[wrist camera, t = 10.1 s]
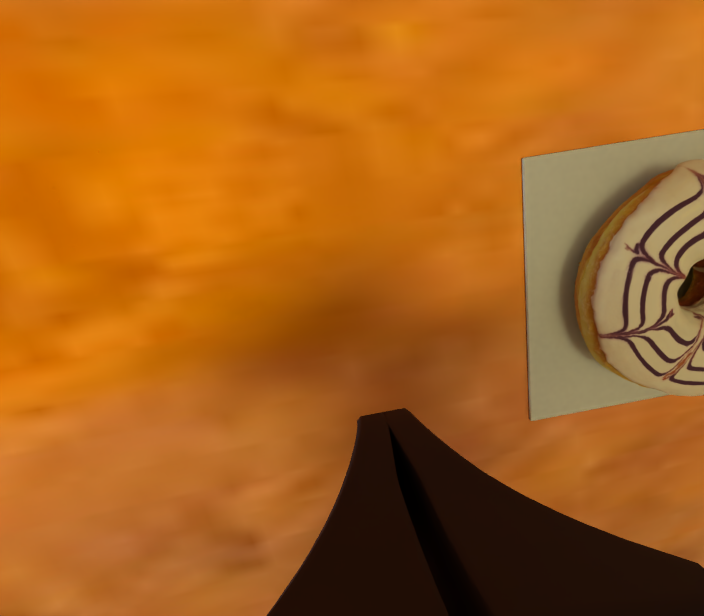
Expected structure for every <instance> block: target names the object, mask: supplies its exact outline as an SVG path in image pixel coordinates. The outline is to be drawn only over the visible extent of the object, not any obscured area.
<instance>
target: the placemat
mask: <svg viewBox="0 0 704 616" xmlns="http://www.w3.org/2000/svg"><path fill="white" fill-rule="evenodd" d="M697 159H703V160H704V129H702V130H696V131H689V132H683V133H677V134H671V135H664V136H658V137H652V138H646V139H639V140H633V141H627V142H620V143H614V144H608V145H602V146H595V147H589V148H583V149H576V150H570V151H564V152H558V153H551V154H545V155H539V156H533V157H526V158H522V180H523V215H524V249H525V284H526V318H527V353H528V387H529V419H530V420H531V421H534V420H540V419H545V418H550V417H555V416H561V415H566V414H571V413H576V412H582V411H587V410H592V409H597V408H602V407H608V406H613V405H618V404H623V403H629V402H634V401H639V400H644V399H650V398H655V397H660V396H665V395H671V394H667V393H665V392H662V391H659V390H656V389H653V388H646V387H642V386H639V385H638V384H636V383H633V382H630V381H628V380H625V379H623V378H622V377H620V376H618V375H617V374H615V373H613V372H611V371H609V370H607V369H606V368H604V367H603V366H602V365H600V364H599V363H598V362H597V361H596V360H595V359H594V357H593V356H592V355H591V353H590V351H589V350H588V347H587V345H586V343H585V341H584V338H583V336H582V334H581V332H580V329H579V325H578V322H577V317H576V309H575V305H574V304H575V302H574V301H575V299H574V293H575V292H574V291H575V281H576V277H577V273H578V266H579V265H580V264H579V262H581V260H582V257H583V254H584V252H585V249H586V247H587V245H588V244H589V242H590V240H591V239H592V238H593V236H595V234H596V233H597V232H598V230H599V229H600V227H601V226H602V225H603V224H604V223H605V221H606V220H607V219H608V218H609V217H610V216H611V215H612V213H613V212H614V211H615V210H616V209H617V208H618V207H619V206H620V205H622V204H623V202H625V201H626V200H627V199H628V198H630V197H631V196H632V195H633V194H634V193H636V192H637V191H638V190H639V189H640V188H642V187H643V186H644V185H645V184H647V183H648V182H649V181H650V180H651V179H652V178H654V177H655V176H657V175H658V174H661V173H664V172H666V171H669V170H672V169H675V167H676V166H677V165H678V164H679V163H682V162H685V161H689V160H697ZM693 272H694V270H693V267H691V268H690V270H689V272H688V275H687V277H686V279H685V280H684V282H683V283H682V285H681V286H680V287H679V289H678V292H677V296H678V300H679V299H680V298H681V297H682V296H683V295H684V294H685V293H686V292H687V290H688V289H689V287H690V284H691V283H692V278H693Z"/></svg>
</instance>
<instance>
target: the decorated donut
mask: <svg viewBox="0 0 704 616" xmlns="http://www.w3.org/2000/svg"><path fill="white" fill-rule="evenodd" d="M579 264H580V265H579V266H578V273H577V277H576V281H575V291H574V292H575V293H574V299H575V301H574V302H575V304H574V305H575V309H576V317H577V322H578V325H579V329H580V332H581V334H582V336H583V338H584V341H585V343H586V345H587V347H588V350H589V351H590V353H591V355H592V356H593V357H594V359H595V360H596V361H597V362H598V363H599V364H600V365H602V366H603V367H604V368H606V369H607V370H609V371H611V372H613V373H615V374H617V375H618V376H620V377H622V378H623V379H625V380H628V381H630V382H633V383H636V384H638V385H639V386H642V387H646V388H653V389H656V390H659V391H662V392H665V393H667V394H671V395H677V396H702V395H704V160H703V159H697V160H689V161H685V162H682V163H679V164H678V165H677V166H676V167H675V169H672V170H669V171H666V172H664V173H661V174H658V175H657V176H655V177H654V178H652V179H651V180H650V181H649V182H648V183H647V184H645V185H644V186H643V187H642V188H640V189H639V190H638V191H637V192H636V193H634V194H633V195H632V196H631V197H630V198H628V199H627V200H626V201H625V202H623V204H622V205H620V206H619V207H618V208H617V209H616V210H615V211H614V212H613V213H612V215H611V216H610V217H609V218H608V219H607V220H606V221H605V223H604V224H603V225H602V226H601V227H600V229H599V230H598V232H597V233H596V234H595V236H593V238H592V239H591V240H590V242H589V244H588V245H587V247H586V249H585V252H584V254H583V257H582V260H581V262H579ZM691 267H693V270H694V272H693V278H692V283H691V284H690V287H689V289H688V290H687V292H686V293H685V294H684V295H683V296H682V297H681V298H680V299H679V300H678V296H677V292H678V289H679V287H680V286H681V285H682V283H683V282H684V280H685V279H686V277H687V275H688V272H689V270H690V268H691Z"/></svg>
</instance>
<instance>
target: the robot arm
mask: <svg viewBox="0 0 704 616" xmlns="http://www.w3.org/2000/svg"><path fill="white" fill-rule="evenodd" d="M267 616H704V568H703V567H702V566H700V565H699V564H698V563H695V562H692V561H689V560H686V559H683V558H680V557H677V556H674V555H671V554H668V553H665V552H662V551H659V550H656V549H653V548H650V547H647V546H644V545H641V544H637V543H634V542H631V541H628V540H625V539H623V538H620V537H617V536H615V535H612V534H610V533H607V532H605V531H602V530H600V529H597V528H595V527H592V526H589V525H587V524H584V523H582V522H580V521H577V520H575V519H573V518H570V517H568V516H566V515H563V514H561V513H559V512H557V511H555V510H553V509H551V508H549V507H547V506H544V505H542V504H540V503H538V502H536V501H534V500H532V499H530V498H528V497H526V496H524V495H522V494H520V493H519V492H517V491H515V490H513V489H511V488H510V487H508V486H506V485H504V484H503V483H501V482H499V481H498V480H496V479H494V478H493V477H491V476H489V475H488V474H486V473H484V472H483V471H481V470H480V469H478V468H477V467H476V466H474V465H473V464H471V463H470V462H469V461H467V460H466V459H464V458H463V457H462V456H460V455H459V454H458V453H456V452H455V451H454V450H453V449H451V448H450V447H449V446H448V445H446V444H445V443H444V442H443V441H441V440H440V439H439V438H438V437H437V436H435V435H434V434H433V433H432V432H431V431H430V430H429V429H427V428H426V427H425V426H424V425H423V424H422V423H421V422H420V421H419V420H418V419H417V418H416V417H415V416H414V415H413V414H412V413H411V412H410V411H408V410H407V409H405V408H402V409H397V410H392V411H386V412H381V413H376V414H370V415H365V416H361V417H360V418H359V419H358V420H357V435H356V441H355V446H354V450H353V453H352V457H351V461H350V464H349V468H348V471H347V473H346V476H345V479H344V482H343V484H342V487H341V490H340V492H339V495H338V497H337V500H336V502H335V504H334V506H333V509H332V511H331V513H330V515H329V517H328V519H327V521H326V523H325V525H324V527H323V529H322V531H321V533H320V534H319V536H318V538H317V540H316V542H315V543H314V545H313V547H312V549H311V551H310V552H309V554H308V556H307V557H306V559H305V561H304V562H303V564H302V565H301V567H300V568H299V570H298V571H297V573H296V574H295V576H294V577H293V579H292V580H291V582H290V583H289V585H288V586H287V588H286V589H285V590H284V592H283V593H282V595H281V596H280V598H279V599H278V601H277V602H276V604H275V605H274V606H273V608H272V609H271V610H270V612H269V613H268V614H267Z"/></svg>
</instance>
